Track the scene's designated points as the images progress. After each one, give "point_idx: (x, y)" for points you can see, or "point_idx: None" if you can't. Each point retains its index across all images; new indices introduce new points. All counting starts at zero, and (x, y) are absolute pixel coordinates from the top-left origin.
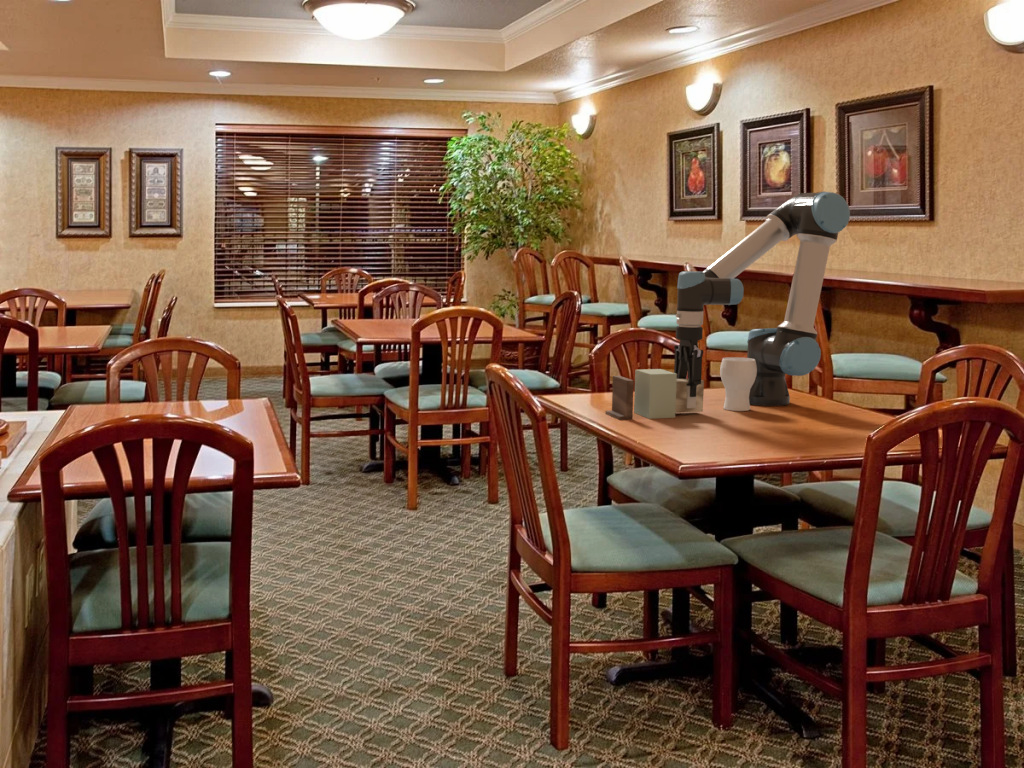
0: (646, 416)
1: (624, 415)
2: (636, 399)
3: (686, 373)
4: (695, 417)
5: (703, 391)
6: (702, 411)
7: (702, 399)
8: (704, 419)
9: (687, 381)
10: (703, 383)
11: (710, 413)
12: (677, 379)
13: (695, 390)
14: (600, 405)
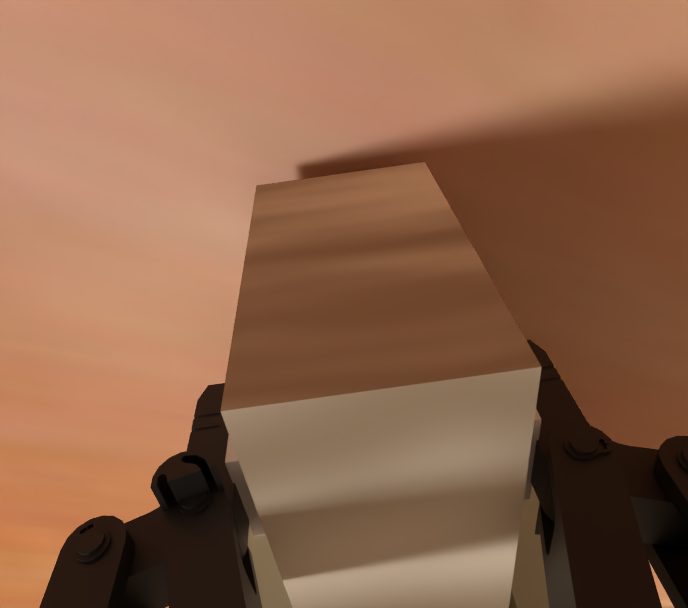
0: None
1: None
2: None
3: (247, 604)
4: (509, 245)
5: (482, 264)
6: (425, 165)
7: (453, 222)
8: (614, 206)
9: (515, 545)
10: (524, 341)
11: (338, 30)
12: (345, 602)
13: (565, 398)
14: (35, 598)
